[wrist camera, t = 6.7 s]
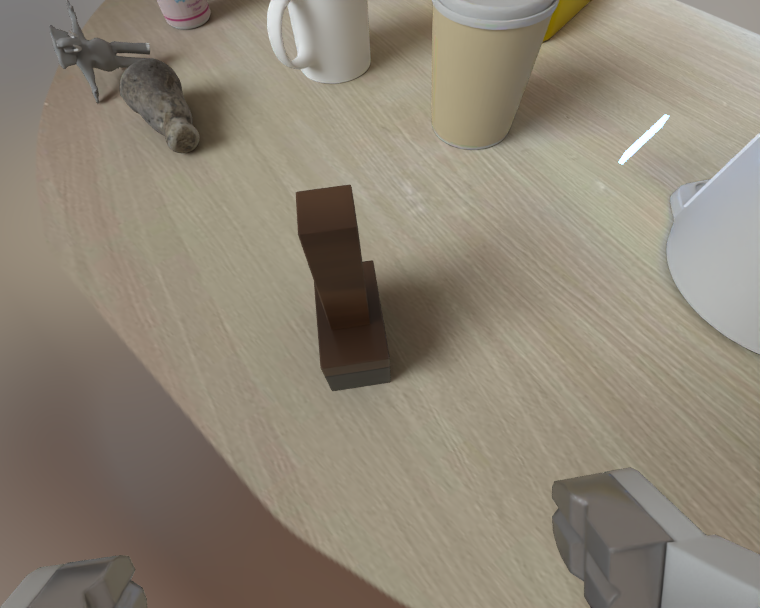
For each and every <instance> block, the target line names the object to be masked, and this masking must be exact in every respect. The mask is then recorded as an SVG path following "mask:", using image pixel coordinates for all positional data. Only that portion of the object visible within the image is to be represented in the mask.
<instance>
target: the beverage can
mask: <svg viewBox="0 0 760 608" xmlns="http://www.w3.org/2000/svg"><path fill="white" fill-rule="evenodd" d="M157 2H158V4H159V6H160V8H161V10H162V13H163V15H164V17H165V19H166V21H167V23H168V24H170V25H172V26H173V27H174V28H177V29H192V28H195V27H198V26H201V25H203V24H204V23H205V22H207V21H208V19H209V16H210V14H211V11H210V8H209V5H208V2H207V0H157Z"/></svg>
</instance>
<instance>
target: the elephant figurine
mask: <svg viewBox="0 0 760 608" xmlns="http://www.w3.org/2000/svg"><path fill="white" fill-rule="evenodd" d="M67 5H68V12H69V17H70V18H71V19H72V32H71V31H69V32H70V33H71V34H72V37H70V36H69V35H68V33H67V32H65V31H62V30H59V29H56V28H55V27H53V26H52V25H50V33H51V36H52V39H53V48H54V51H55V52H56V54H57V56H58V59H59V63H60V65H61V67H62V68H63V69H66V68H67V67H68V66H71V65H75V64H76V65H77V66H78V67H79V68H80V69H81V70H82V72H83V74H84V76H85V77H86V79H87V81H88V82H89V84H90V86H91V88H92V93H93V95H94V97H95V99H96V102H97V103H99V100H98V96H99V93H98V88H97V86H96V83H95V75H94V71H93V68H98V69H101V70H104V71H108V72H109V71H113V70H115V69H116V68H119V67H121V68H128V67H129V66H130V65H132V64H133V63H135V62H137V61H140V60H145V59H154V58H135V57H122V56H116V53H136V54H150V45H149V43H126V42H116V41H114V42H111V43H109V42H106V41H105V40H102V39H100V38H94V39H92V40H86V39H85V37H84V35H83V33H82V31H81V29H80V27H79V25H78V22H77V17H76V15H75V12H74V9H73V6H70V3H69V1H68V0H67Z"/></svg>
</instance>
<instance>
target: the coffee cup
mask: <svg viewBox="0 0 760 608" xmlns="http://www.w3.org/2000/svg"><path fill="white" fill-rule="evenodd" d="M432 2H433V25H432V100H431V113H432V127H433V130H434V132H435V134H436V135H437V136H438V137H439V138H440V139H441V140H442V141H444V142H445V143H447V144H449V145H451V146H454V147H457V148H461V149H469V150H478V149H484V148H488V147H491V146H494V145H496V144H498V143H499V142H501V141H502V140H503V139H504V138H505V137H506V135H507V134H508V132H509V130H510V127H511V125H512V122H513V120H514V117H515V115H516V112H517V109H518V106H519V104H520V101H521V98H522V96H523V93H524V90H525V88H526V85H527V82H528V80H529V77H530V74H531V72H532V69H533V66H534V64H535V61H536V58H537V56H538V53H539V50H540V47H541V45H542V42H543V39H544V36H545V34H546V31H547V28H548V25H549V22H550V19H551V16H552V13H553V12H554V11H555V9H556V7H557V5H558V3H559V0H432Z"/></svg>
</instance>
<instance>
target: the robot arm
mask: <svg viewBox="0 0 760 608" xmlns="http://www.w3.org/2000/svg"><path fill="white" fill-rule="evenodd" d="M668 117H669V116H668V115H666V114H665V115H664V116H663V117H662V118H661V119H660V120H659V121H658V122H657V123H656V124H655V125H653V126H652V127H651V128H650V129H649V130H648V131H647V132H646V133H645V134H644V135H643V136H642V137H641V138H639V139H638V140H637V141H636V142H635V143H634V144H633V145H632V146H631V147H630V148H629V149H628V150H627V151H625V153H624V154H623V156H622V157H621V159H620V161H619V162H618V163H620V164H623V163H624V162H625V161H626V160H627V159H628V158H629V157H630V156H632V155H633V154H634V153H635V152H636V151H637V150H638V149H639V148H640V147H641V146H642V145H643V144H644V143H645V142H646V141H647V140H648V139H650V138H651V137H652V136H653V135H654V134H655V133H656V132H657V131H658V130H659V129H660V128H661V127H662V126H663V124H664V123H665V122H666V120H667V119H668ZM670 204H671V209H672V213H673V217H674V223H673V227H672V229H671V232H670V234H669V237H668V241H667V247H666V255H667V262H668V267H669V270H670V273H671V275H672V278H673V280H674V282H675V284H676V286H677V287H678V289H679V291H680V292H681V294H682V295H683V297H684V298H685V299H686V301H687V302H688V303H689V304H690V306H691V307H692V308H693V309H694V310H695V311H696V312H697V313H698V314H699V315H700V316H701V317H702V318H703V319H704V320H705V321H706V322H708V323H709V324H710V325H711V326H712V327H714V328H715V329H716V330H718V331H719V332H720V333H722V334H723V335H725V336H726V337H728V338H729V339H731V340H732V341H734V342H736V343H737V344H739V345H741V346H743V347H745V348H747V349H749V350H751V351H753V352H755V353H757V354H760V133H759V134H757V135H756V136H755V137H754V138H753V139H752V140H751V141H750V142H749V143H748V144H747V145H746V146H745V147H744V148H743V149H742V150H741V151H740V152H739V153H738V154H737V155H735V156H734V157H733V158H732V159H731V160H730V161H729V162H728V163H727V164H726V165H725V166H724V167H723V168H722V169H721V170H720V171H719V172H718V173H717V174H716V175H715V176H714V177H713V178H712V179H708V180H702V181H697V182H692V183H687V184H683V185H681V186H680V187H679V188H678V189H677V190H676V191H675V192H673V193H672V195H671V197H670ZM552 499H553V500H554V502H555V503H556V505H557V506H558V509H557V511H556V512H555V513H554V515H553V516H552V523H553V533H554V537H555V541H556V544H557V548H558V550H559V552H560V555H561V557H562V559H563V561H564V563H565V564H566V566H567V568H568V570H569V571H570V573H572V574H573V575H575V576H576V577H578V578H579V579H581V580H582V581H584V597H585V599H586V600H587V602H588V604H589V605H590V607H591V608H760V554H757V553H755V552H753V551H751V550H749V549H746V548H744V547H742V546H740V545H738V544H735V543H733V542H731V541H729V540H727V539H724V538H722V537H720V536H718V535H709V536H707V535H706V534H705V533H704V532H702V531H701V530H700V529H699V528H698V527H697V526H696V525H695V524H694V523H693V522H692V521H691V520H690V519H689V518H688V517H687V516H685V515H684V514H683V513H682V512H681V511H680V510H679V509H678V508H677V507H676V506H675V505H674V504H673V503H672V502H671V501H670V500H668V499H667V498H666V497H665V496H664V495H663V494H662V493H661V492H660V491H659V490H658V489H657V488H656V487H655V486H654V485H653V484H651V483H650V482H649V481H648V480H647V479H646V478H645V477H644V476H643V475H642V474H641V473H640V472H639V471H637V470H636V469H633V468H631V467H629V468H623V469H618V470H612V471H607V472H604V473H597V474H591V475H586V476H580V477H575V478H569V479H564V480H558V481H554V484H553V486H552ZM134 571H135V568H134V566H133V564H132V562H131V559H130V557H129V556H122V555H119V556H112V557H105V558H99V559H91V560H84V561H78V562H70V563H67V564H61V565H54V566H46V567H40V568H38V569H36V570H35V571H33V572H31V573H30V574H28V575H27V576H26V577H25V579H24V580H23V581H22V582H21V583H20V585H19V586H18V587H17V588H16V589H15V591H14V592H13V593H12V594H11V595H10V596H9V597H8V599H7V600H6V601H5V602H4V603H3V605H2V606H1V607H0V608H147V599H146V596H145V593H144V590H143V588H142V587H141V586H139V585H137V584H136V583H134V582H133V581H131V578H132V576H133V573H134Z"/></svg>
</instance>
